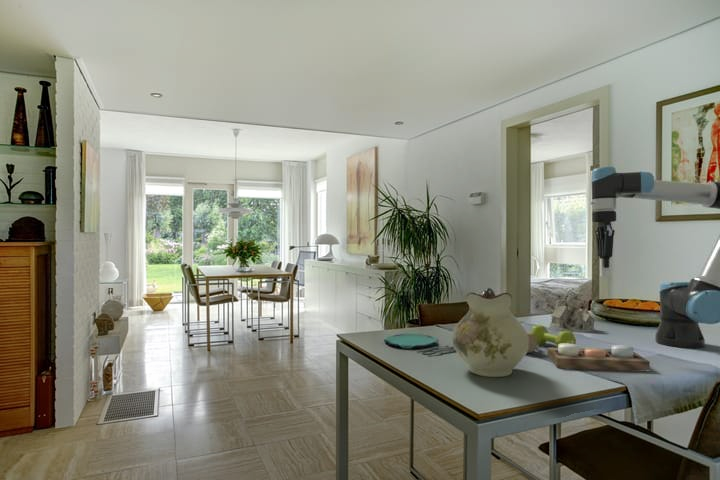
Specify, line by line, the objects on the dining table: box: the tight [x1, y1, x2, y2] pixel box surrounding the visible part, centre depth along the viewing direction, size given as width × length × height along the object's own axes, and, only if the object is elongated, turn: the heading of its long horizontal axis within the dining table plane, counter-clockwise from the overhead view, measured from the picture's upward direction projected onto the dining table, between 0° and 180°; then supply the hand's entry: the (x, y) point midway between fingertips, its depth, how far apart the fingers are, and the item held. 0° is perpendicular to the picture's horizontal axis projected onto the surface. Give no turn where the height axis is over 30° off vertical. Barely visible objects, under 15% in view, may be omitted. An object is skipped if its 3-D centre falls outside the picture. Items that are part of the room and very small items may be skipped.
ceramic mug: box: [526, 331, 540, 354], centre depth 160 cm, size 11×8×8 cm
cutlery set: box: [383, 332, 457, 358], centre depth 169 cm, size 20×30×2 cm, turn 29°
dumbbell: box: [529, 324, 577, 348], centre depth 164 cm, size 16×8×7 cm, turn 23°
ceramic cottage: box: [548, 294, 596, 333], centre depth 196 cm, size 16×16×15 cm
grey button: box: [610, 344, 634, 358], centre depth 141 cm, size 6×6×4 cm
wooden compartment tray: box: [546, 347, 651, 371], centre depth 142 cm, size 26×14×3 cm, turn 78°
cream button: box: [558, 343, 579, 356], centre depth 144 cm, size 6×6×4 cm
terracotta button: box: [584, 347, 606, 357], centre depth 142 cm, size 6×6×4 cm
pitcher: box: [452, 287, 529, 378], centre depth 136 cm, size 22×24×25 cm
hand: (605, 276), depth 158 cm, fingers closed
